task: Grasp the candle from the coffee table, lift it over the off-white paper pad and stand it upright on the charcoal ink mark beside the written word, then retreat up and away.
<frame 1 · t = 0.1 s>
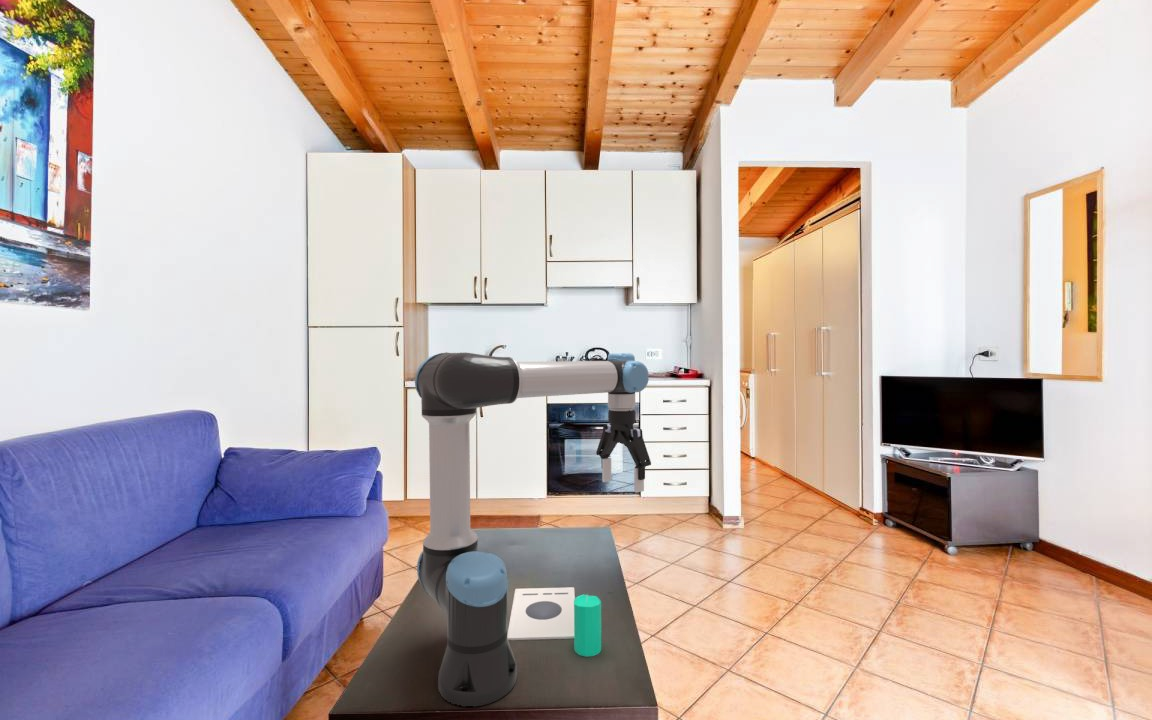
hand: (622, 486, 137), 28 cm above the table, fingers open, 13 cm apart
candle: (587, 649, 109), on the table
paper pad: (543, 612, 125), on the table
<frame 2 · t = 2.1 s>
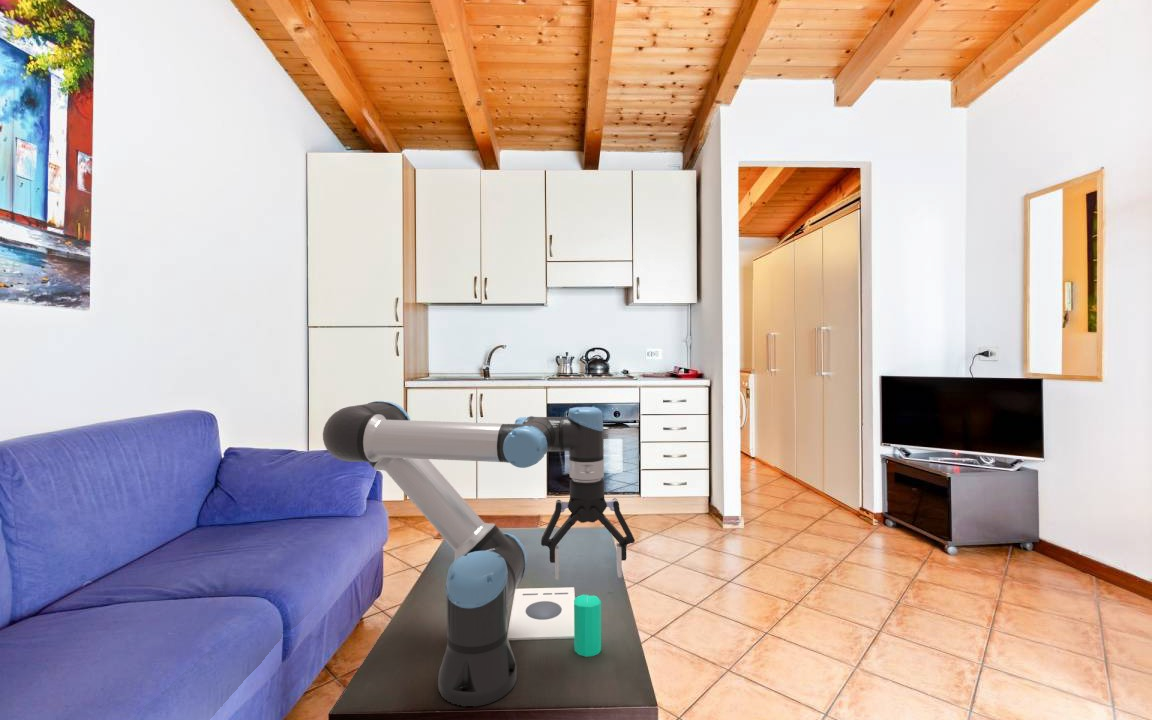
hand: (588, 576, 109), 16 cm above the table, fingers open, 13 cm apart
nothing on the table moved.
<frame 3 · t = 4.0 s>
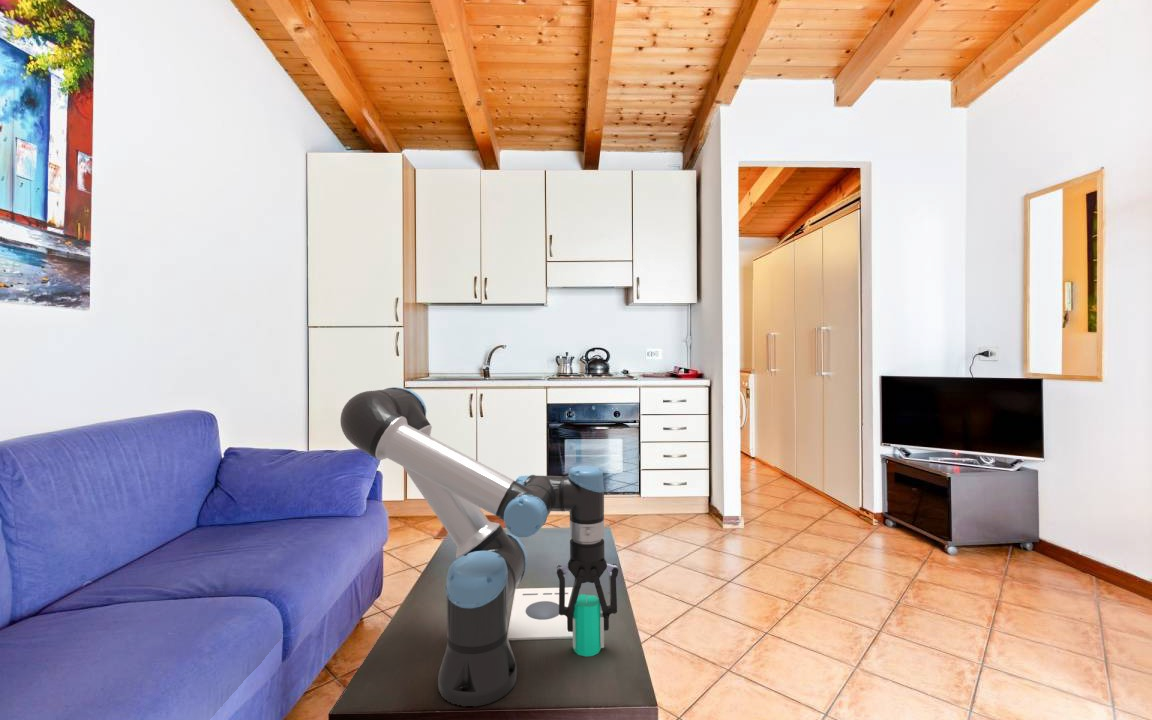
hand: (588, 644, 109), 1 cm above the table, fingers closed on candle, 5 cm apart
candle: (587, 649, 109), on the table, touching gripper
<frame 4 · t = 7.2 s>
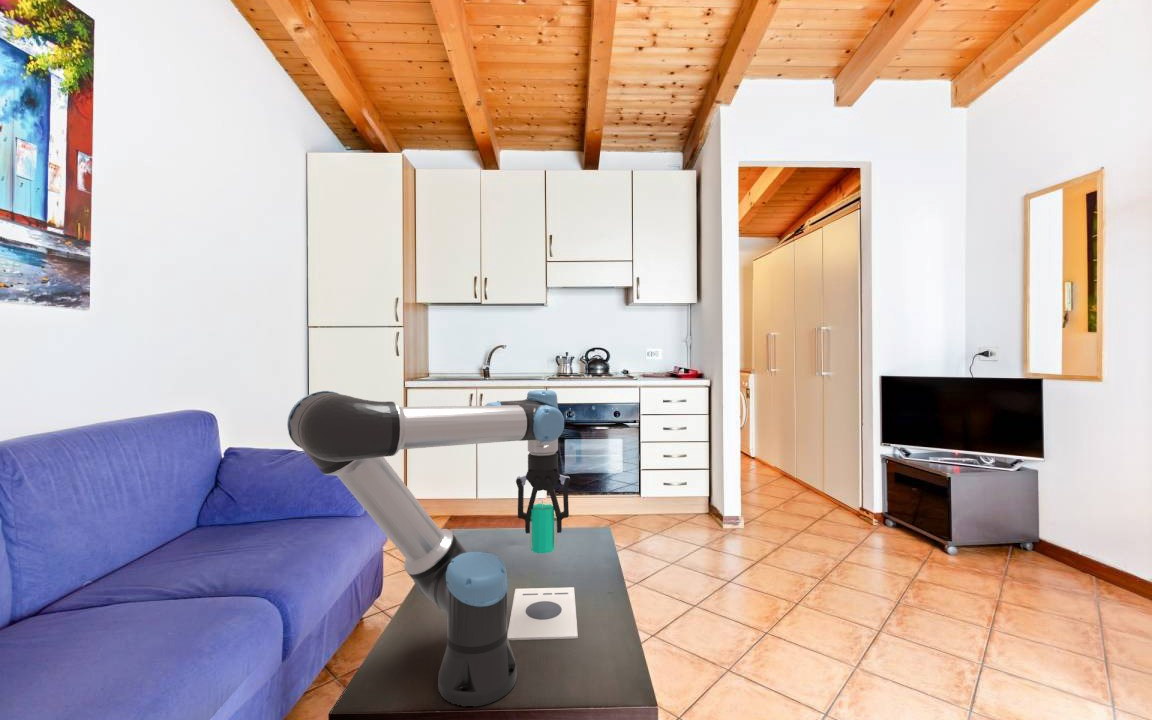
hand: (543, 545, 124), 17 cm above the table, fingers closed on candle, 5 cm apart
candle: (542, 549, 124), point 16 cm above the table, touching gripper
when the fingers open (3 cm above the table, at t = 10.5 s): candle drops 1 cm, resting on paper pad.
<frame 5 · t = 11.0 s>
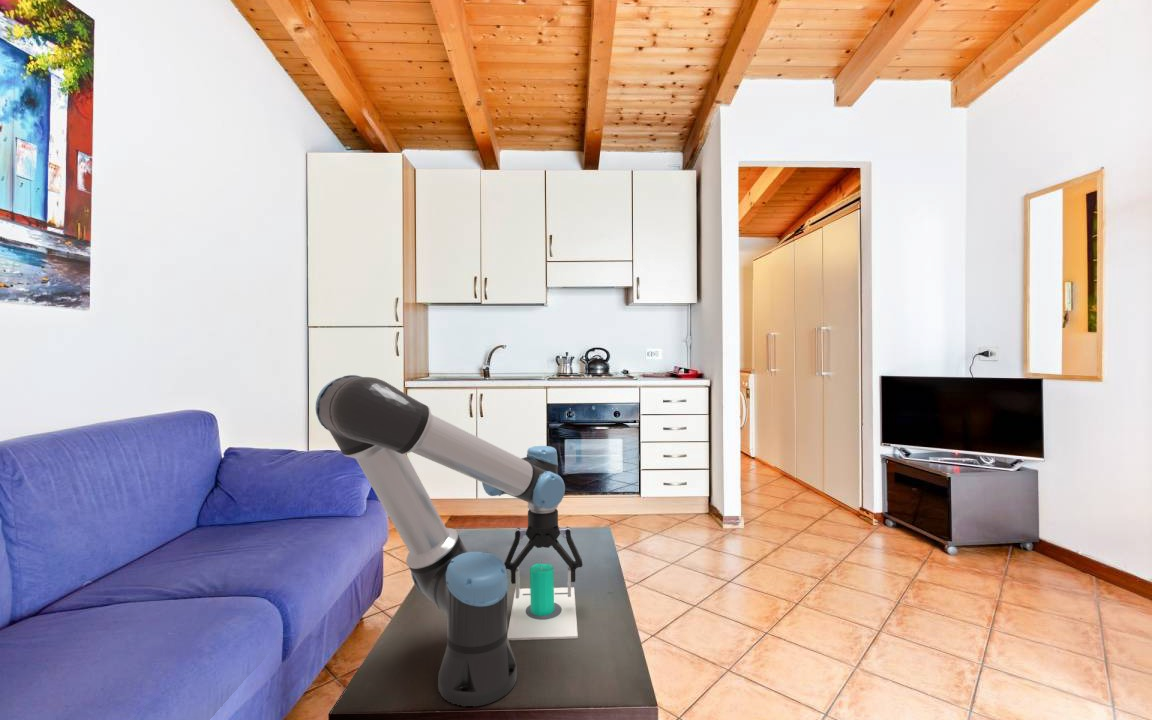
hand: (543, 595, 125), 4 cm above the table, fingers open, 12 cm apart
candle: (542, 610, 125), resting on paper pad
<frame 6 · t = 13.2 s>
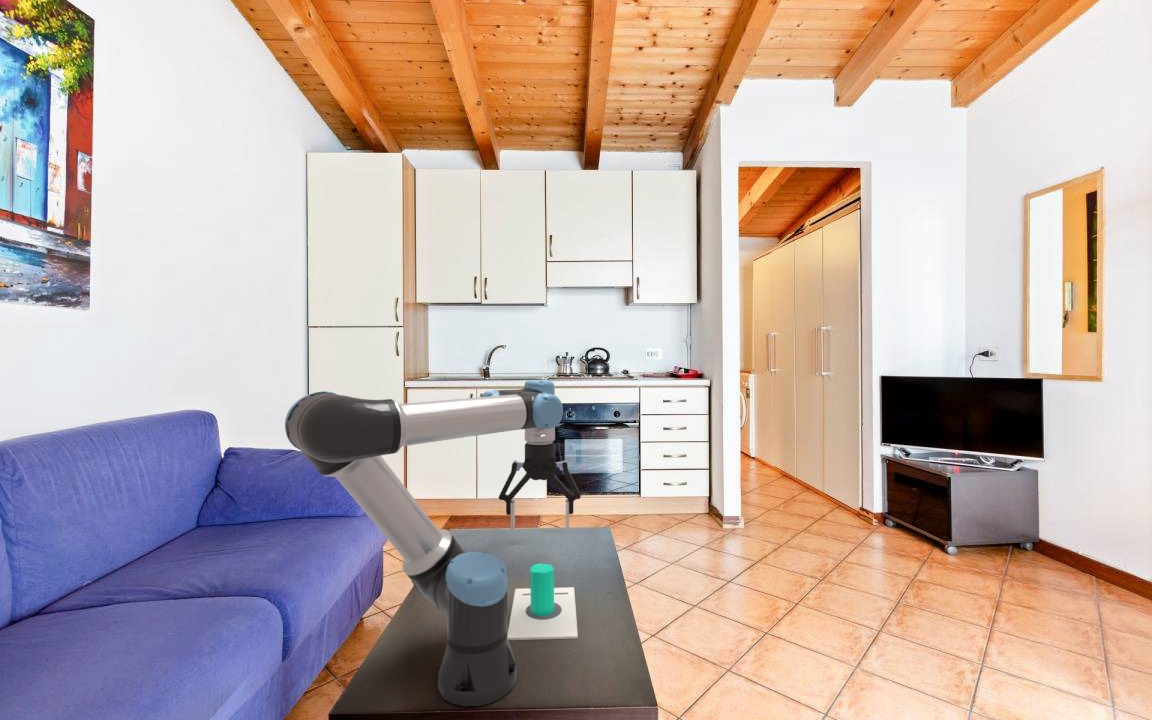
hand: (540, 527, 124), 21 cm above the table, fingers open, 13 cm apart
nothing on the table moved.
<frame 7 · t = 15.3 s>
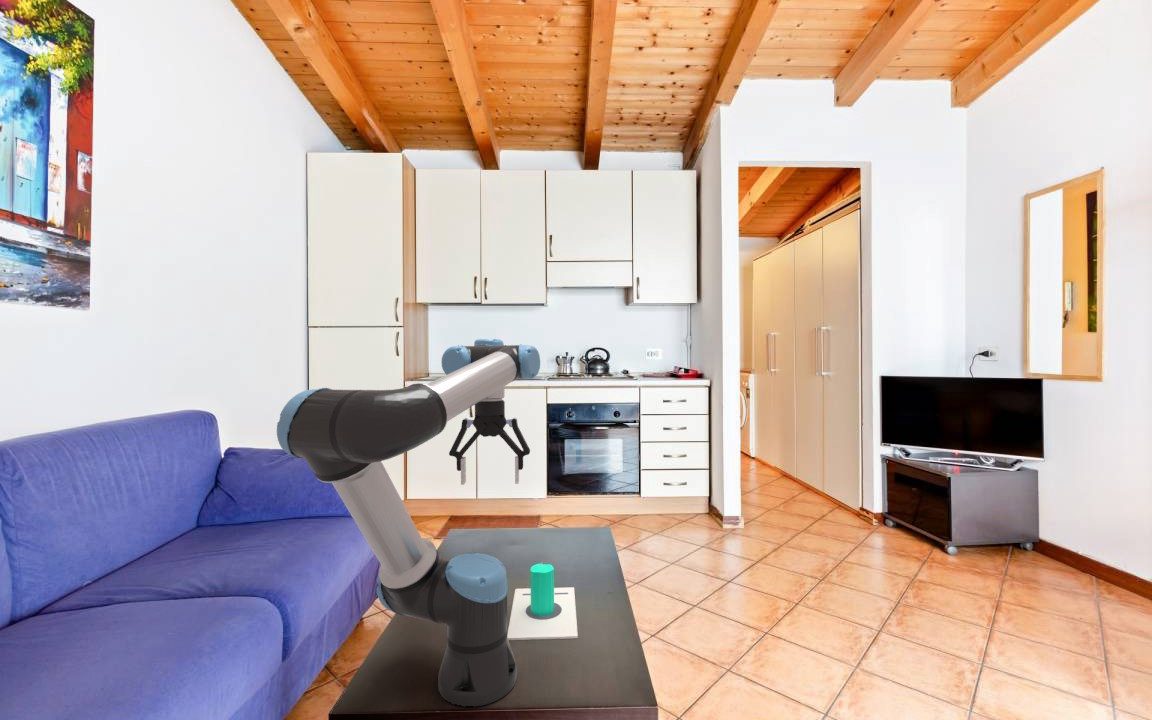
hand: (490, 483, 127), 32 cm above the table, fingers open, 13 cm apart
nothing on the table moved.
at the end: candle inside the target area on the paper pad (0.3 cm from its centre), point 0.4 cm above the paper pad's base; candle tilted 0°; the gripper is holding nothing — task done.
